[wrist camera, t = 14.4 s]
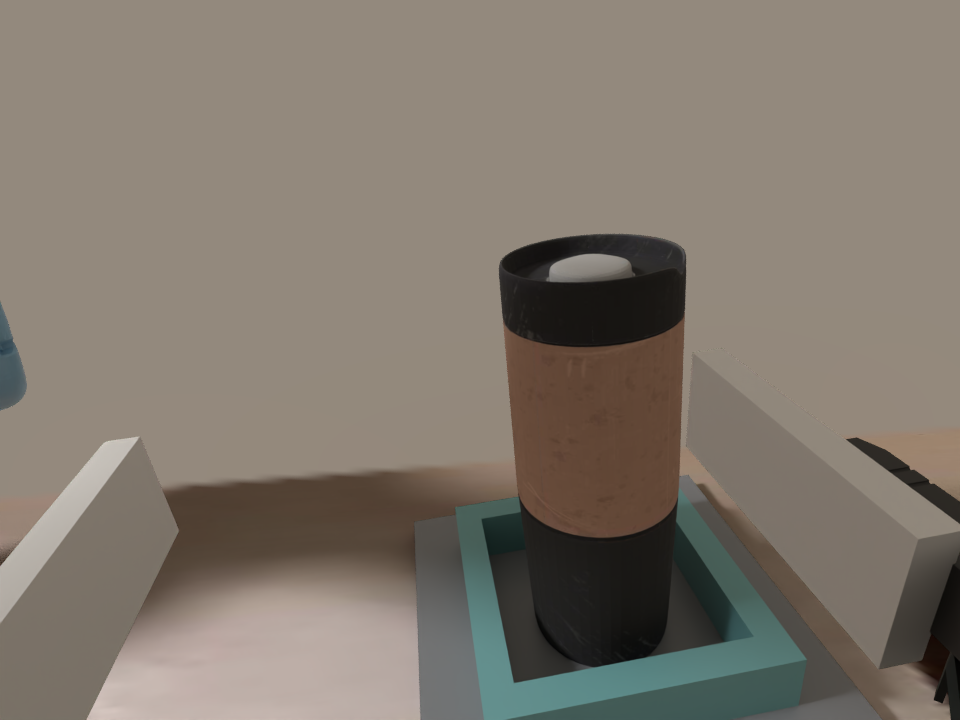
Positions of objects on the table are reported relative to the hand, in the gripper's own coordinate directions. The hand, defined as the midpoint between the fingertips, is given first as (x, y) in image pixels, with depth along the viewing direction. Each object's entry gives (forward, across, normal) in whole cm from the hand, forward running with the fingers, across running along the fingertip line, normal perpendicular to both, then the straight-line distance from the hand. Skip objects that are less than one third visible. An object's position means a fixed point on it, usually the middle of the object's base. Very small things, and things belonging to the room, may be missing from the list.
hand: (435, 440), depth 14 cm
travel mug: (+10, +7, -19) cm, 23 cm away
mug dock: (+10, +7, -20) cm, 23 cm away
